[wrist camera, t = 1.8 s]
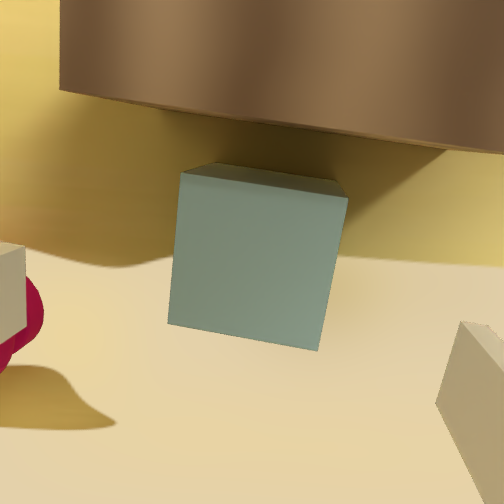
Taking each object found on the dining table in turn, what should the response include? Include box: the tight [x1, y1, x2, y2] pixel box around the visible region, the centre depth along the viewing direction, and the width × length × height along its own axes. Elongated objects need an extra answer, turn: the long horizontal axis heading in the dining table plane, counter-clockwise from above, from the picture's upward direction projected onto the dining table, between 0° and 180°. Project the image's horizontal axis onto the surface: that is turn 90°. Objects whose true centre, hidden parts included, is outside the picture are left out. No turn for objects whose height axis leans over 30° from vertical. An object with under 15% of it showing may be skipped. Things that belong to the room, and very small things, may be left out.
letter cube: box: [168, 163, 349, 351], centre depth 21 cm, size 7×7×7 cm
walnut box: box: [59, 0, 504, 155], centre depth 17 cm, size 16×6×10 cm, turn 82°
